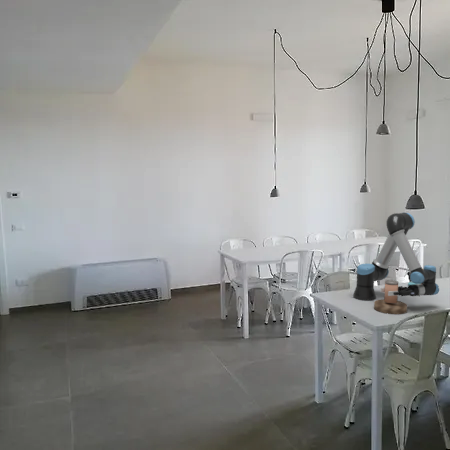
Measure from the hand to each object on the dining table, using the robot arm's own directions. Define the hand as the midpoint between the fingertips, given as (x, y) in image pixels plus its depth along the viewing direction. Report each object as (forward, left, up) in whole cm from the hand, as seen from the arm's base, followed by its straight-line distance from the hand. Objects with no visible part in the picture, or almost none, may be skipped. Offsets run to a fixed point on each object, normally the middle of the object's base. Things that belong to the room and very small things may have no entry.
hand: (384, 291), depth 308 cm
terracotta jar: (+4, +2, -6) cm, 8 cm away
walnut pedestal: (+4, +2, -12) cm, 13 cm away
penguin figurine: (+30, +75, -12) cm, 82 cm away
